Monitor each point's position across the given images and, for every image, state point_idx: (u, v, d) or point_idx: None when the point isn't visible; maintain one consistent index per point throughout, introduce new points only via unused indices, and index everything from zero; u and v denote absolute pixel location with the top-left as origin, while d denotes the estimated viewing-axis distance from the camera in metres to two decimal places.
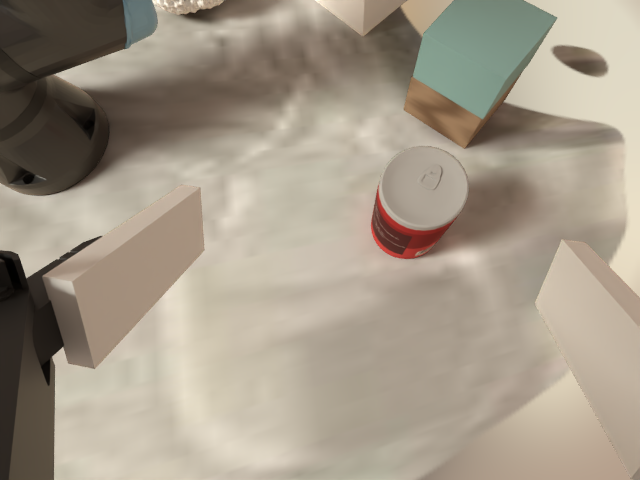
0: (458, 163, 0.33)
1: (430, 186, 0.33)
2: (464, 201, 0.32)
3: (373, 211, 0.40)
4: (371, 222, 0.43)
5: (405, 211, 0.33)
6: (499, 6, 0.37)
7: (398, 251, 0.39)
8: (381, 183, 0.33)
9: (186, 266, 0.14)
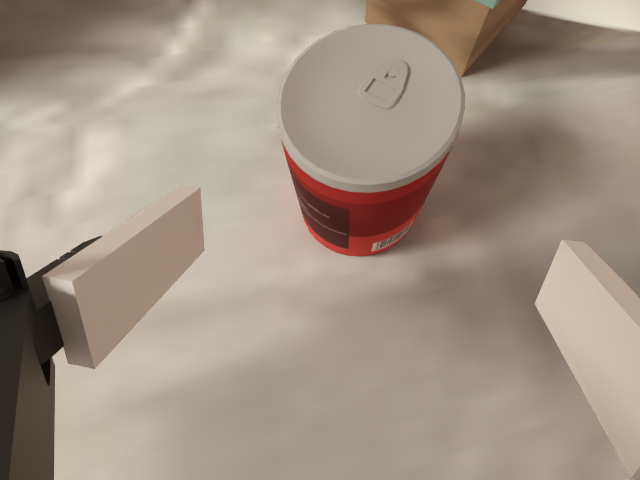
0: (442, 54, 0.16)
1: (383, 101, 0.16)
2: (455, 128, 0.15)
3: None
4: None
5: (327, 151, 0.15)
6: None
7: (340, 243, 0.22)
8: (280, 96, 0.16)
9: (186, 266, 0.14)
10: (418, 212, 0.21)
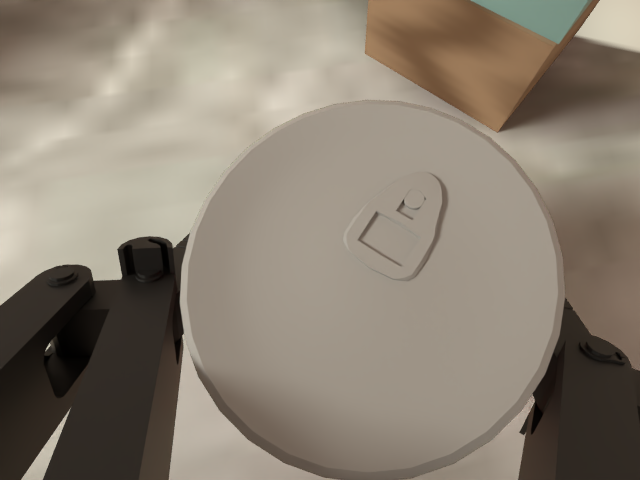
0: (512, 167, 0.08)
1: (396, 264, 0.08)
2: (549, 344, 0.07)
3: None
4: None
5: (279, 379, 0.07)
6: None
7: None
8: (189, 251, 0.08)
9: None
10: None
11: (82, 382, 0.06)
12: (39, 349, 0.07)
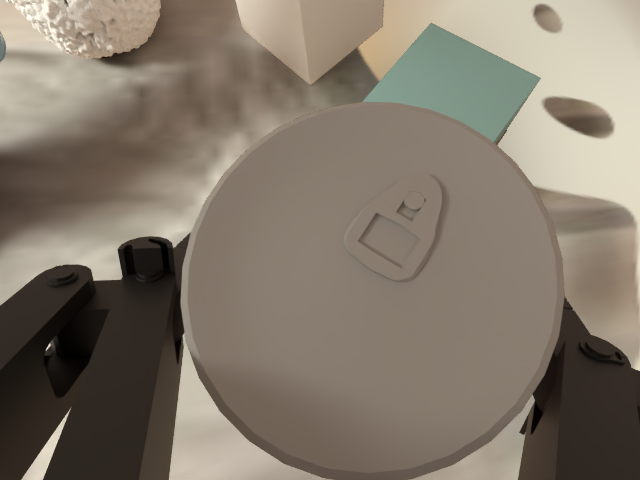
0: (512, 169, 0.08)
1: (395, 266, 0.08)
2: (548, 345, 0.07)
3: None
4: None
5: (279, 381, 0.07)
6: (461, 63, 0.28)
7: None
8: (190, 252, 0.08)
9: None
10: None
11: (82, 382, 0.06)
12: (40, 349, 0.08)
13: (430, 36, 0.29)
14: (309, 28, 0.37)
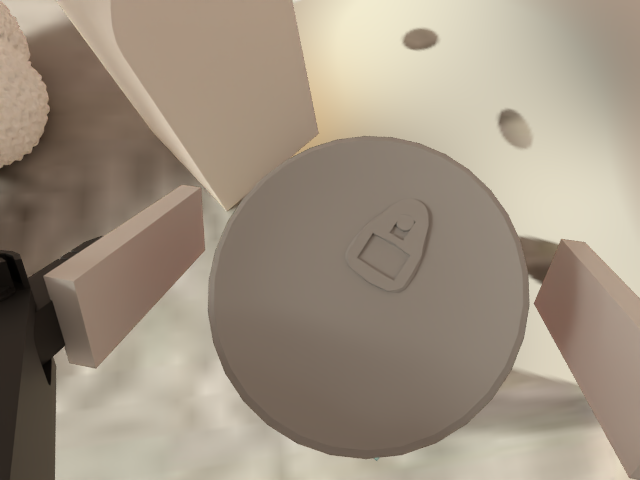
0: (487, 196, 0.10)
1: (389, 279, 0.09)
2: (515, 345, 0.08)
3: None
4: None
5: (291, 375, 0.09)
6: None
7: None
8: (215, 267, 0.09)
9: (187, 266, 0.14)
10: None
11: None
12: None
13: None
14: (209, 166, 0.29)
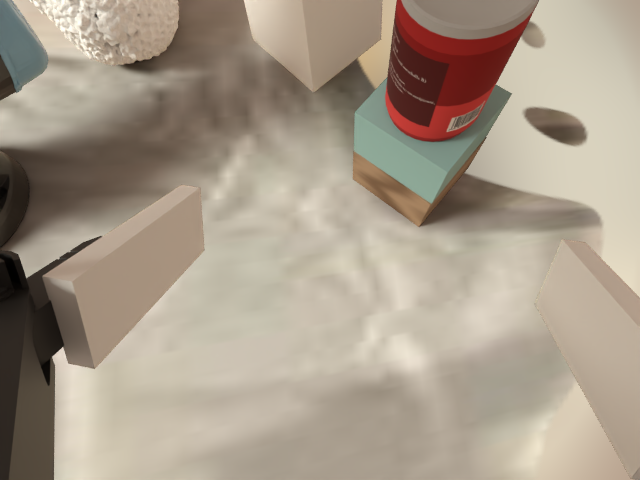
0: None
1: None
2: None
3: None
4: None
5: (440, 10, 0.20)
6: None
7: (423, 119, 0.27)
8: None
9: (186, 266, 0.14)
10: (489, 94, 0.27)
11: None
12: None
13: None
14: (313, 43, 0.41)
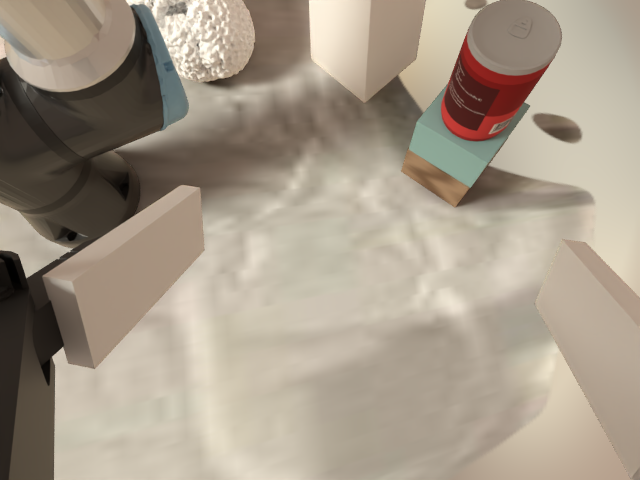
0: (549, 13, 0.33)
1: (521, 35, 0.33)
2: (558, 46, 0.32)
3: (448, 86, 0.39)
4: (441, 105, 0.42)
5: (496, 57, 0.32)
6: None
7: (474, 125, 0.39)
8: (471, 32, 0.33)
9: (186, 266, 0.14)
10: None
11: None
12: None
13: None
14: (370, 66, 0.52)
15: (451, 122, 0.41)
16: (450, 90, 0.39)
